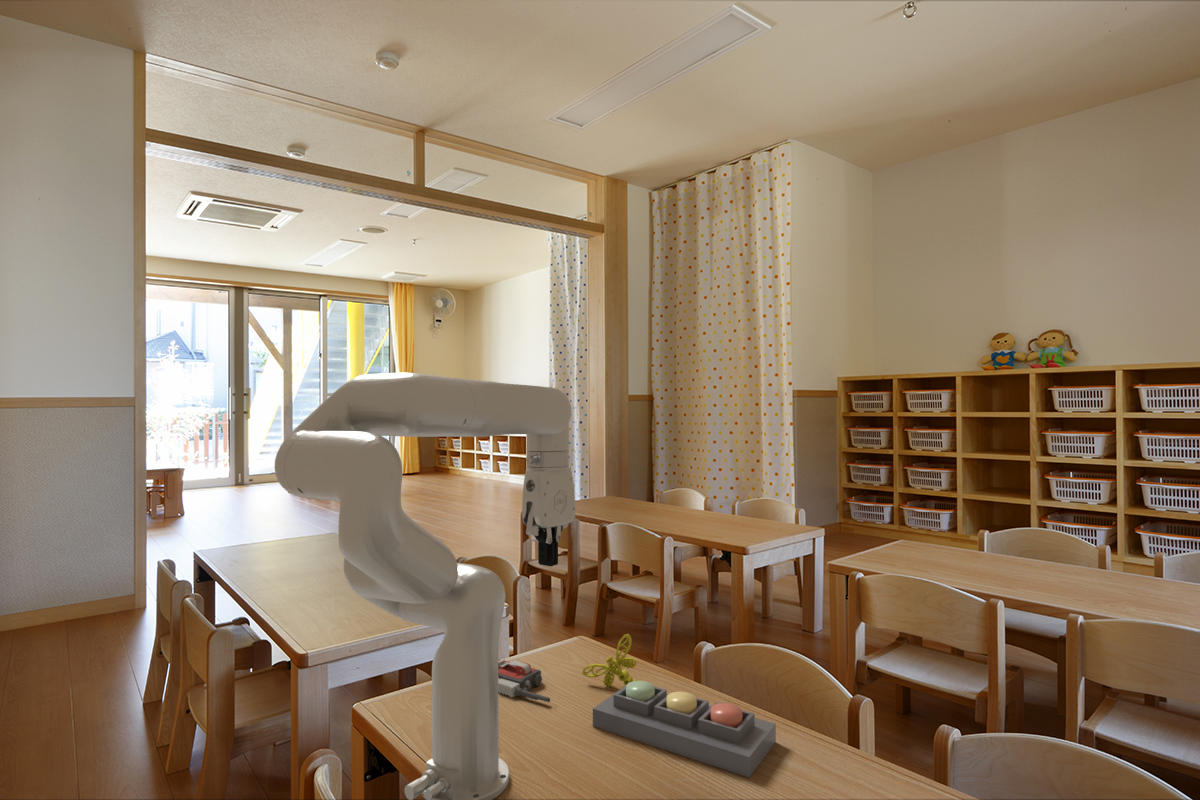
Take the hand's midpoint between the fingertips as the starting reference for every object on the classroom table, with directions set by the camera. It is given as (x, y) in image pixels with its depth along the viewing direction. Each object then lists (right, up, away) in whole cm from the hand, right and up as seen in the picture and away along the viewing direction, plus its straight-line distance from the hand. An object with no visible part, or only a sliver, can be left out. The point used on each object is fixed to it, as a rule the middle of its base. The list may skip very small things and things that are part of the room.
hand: (548, 564), depth 112 cm
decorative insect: (+12, -28, +13) cm, 33 cm away
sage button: (+16, -24, -2) cm, 29 cm away
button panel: (+23, -27, -6) cm, 36 cm away
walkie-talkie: (-7, -28, +12) cm, 31 cm away
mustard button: (+23, -23, -6) cm, 33 cm away
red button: (+30, -23, -10) cm, 39 cm away
